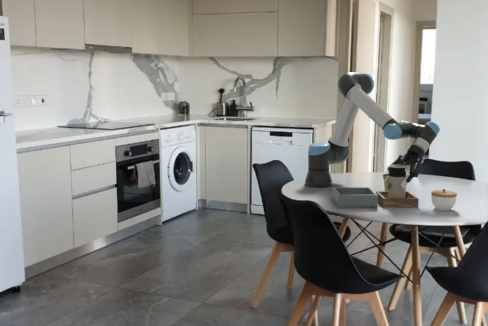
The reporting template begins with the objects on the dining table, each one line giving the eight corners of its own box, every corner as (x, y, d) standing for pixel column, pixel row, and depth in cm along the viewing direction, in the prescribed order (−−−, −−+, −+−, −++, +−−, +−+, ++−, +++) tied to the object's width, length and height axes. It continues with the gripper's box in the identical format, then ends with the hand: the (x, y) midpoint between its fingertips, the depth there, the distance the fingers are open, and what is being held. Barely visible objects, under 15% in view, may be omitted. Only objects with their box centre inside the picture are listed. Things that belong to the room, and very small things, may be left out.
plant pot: (400, 193, 275) (401, 176, 274) (382, 192, 277) (382, 176, 276) (399, 189, 284) (400, 173, 283) (381, 189, 286) (381, 173, 285)
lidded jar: (426, 206, 246) (427, 186, 245) (449, 206, 247) (450, 186, 246) (436, 212, 236) (437, 191, 234) (460, 211, 237) (461, 191, 235)
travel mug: (403, 201, 257) (404, 164, 255) (406, 205, 250) (408, 167, 247) (386, 201, 258) (387, 164, 256) (389, 204, 250) (390, 166, 248)
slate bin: (332, 199, 263) (332, 187, 262) (369, 199, 262) (369, 187, 261) (338, 207, 245) (338, 195, 244) (377, 207, 244) (378, 195, 243)
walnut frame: (375, 199, 262) (375, 191, 261) (408, 199, 262) (408, 191, 261) (383, 206, 246) (383, 198, 246) (418, 207, 246) (418, 198, 245)
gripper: (440, 157, 250) (416, 194, 244) (403, 151, 268) (380, 186, 263) (433, 146, 246) (408, 184, 240) (396, 142, 265) (372, 176, 259)
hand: (393, 185), depth 252 cm, fingers open, 9 cm apart
